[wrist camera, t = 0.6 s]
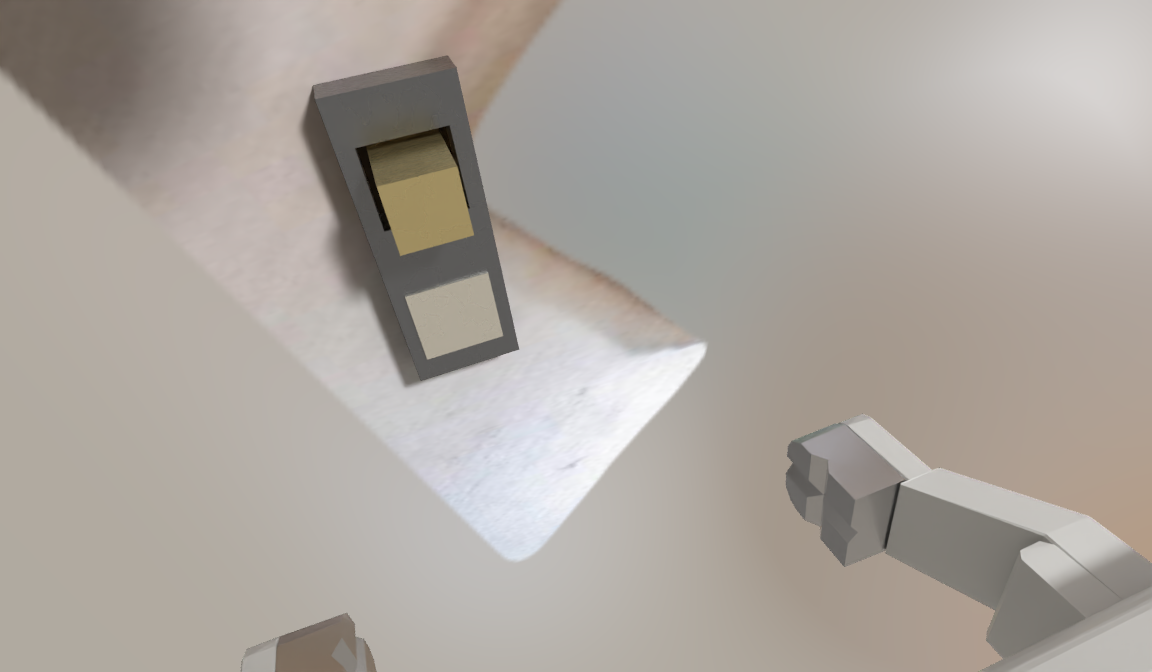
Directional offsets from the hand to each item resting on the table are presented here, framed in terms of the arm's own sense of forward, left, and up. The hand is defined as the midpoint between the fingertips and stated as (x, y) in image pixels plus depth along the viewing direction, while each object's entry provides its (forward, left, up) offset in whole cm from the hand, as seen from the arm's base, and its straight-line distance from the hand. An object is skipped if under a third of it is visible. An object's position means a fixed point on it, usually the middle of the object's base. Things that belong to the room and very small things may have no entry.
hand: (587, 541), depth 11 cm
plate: (+13, 0, -35) cm, 37 cm away
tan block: (+8, 0, -35) cm, 36 cm away
